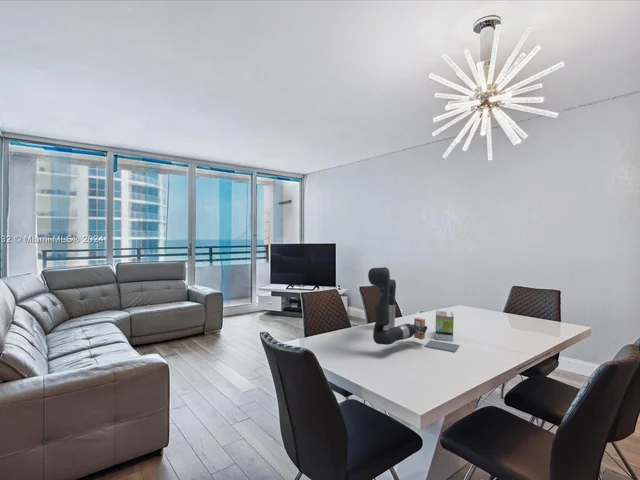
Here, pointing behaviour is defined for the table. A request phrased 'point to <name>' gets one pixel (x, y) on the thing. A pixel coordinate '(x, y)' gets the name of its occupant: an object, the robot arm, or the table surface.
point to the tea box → (444, 325)
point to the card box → (419, 323)
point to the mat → (442, 346)
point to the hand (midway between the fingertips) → (422, 326)
